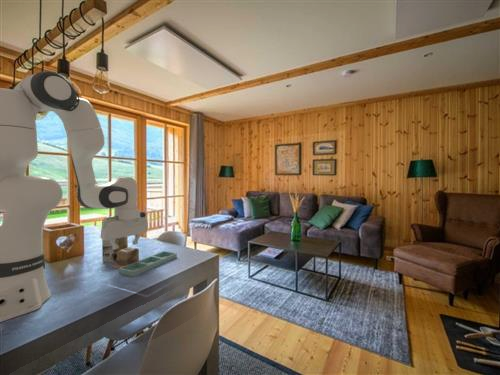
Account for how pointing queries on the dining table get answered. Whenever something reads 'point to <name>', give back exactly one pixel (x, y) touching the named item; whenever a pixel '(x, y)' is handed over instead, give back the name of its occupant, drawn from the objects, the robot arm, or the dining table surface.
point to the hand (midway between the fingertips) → (125, 246)
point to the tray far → (166, 255)
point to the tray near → (134, 269)
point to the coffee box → (108, 252)
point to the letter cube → (127, 256)
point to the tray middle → (152, 261)
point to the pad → (117, 266)
